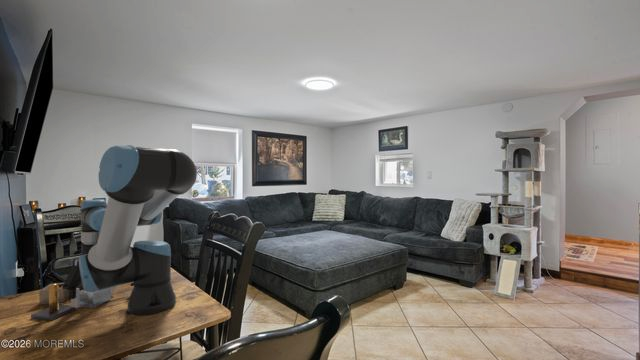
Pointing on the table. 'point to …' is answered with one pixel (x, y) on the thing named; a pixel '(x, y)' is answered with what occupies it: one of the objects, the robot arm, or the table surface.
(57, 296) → the keeper
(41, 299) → the link
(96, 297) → the grey hollow block
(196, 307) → the table surface
